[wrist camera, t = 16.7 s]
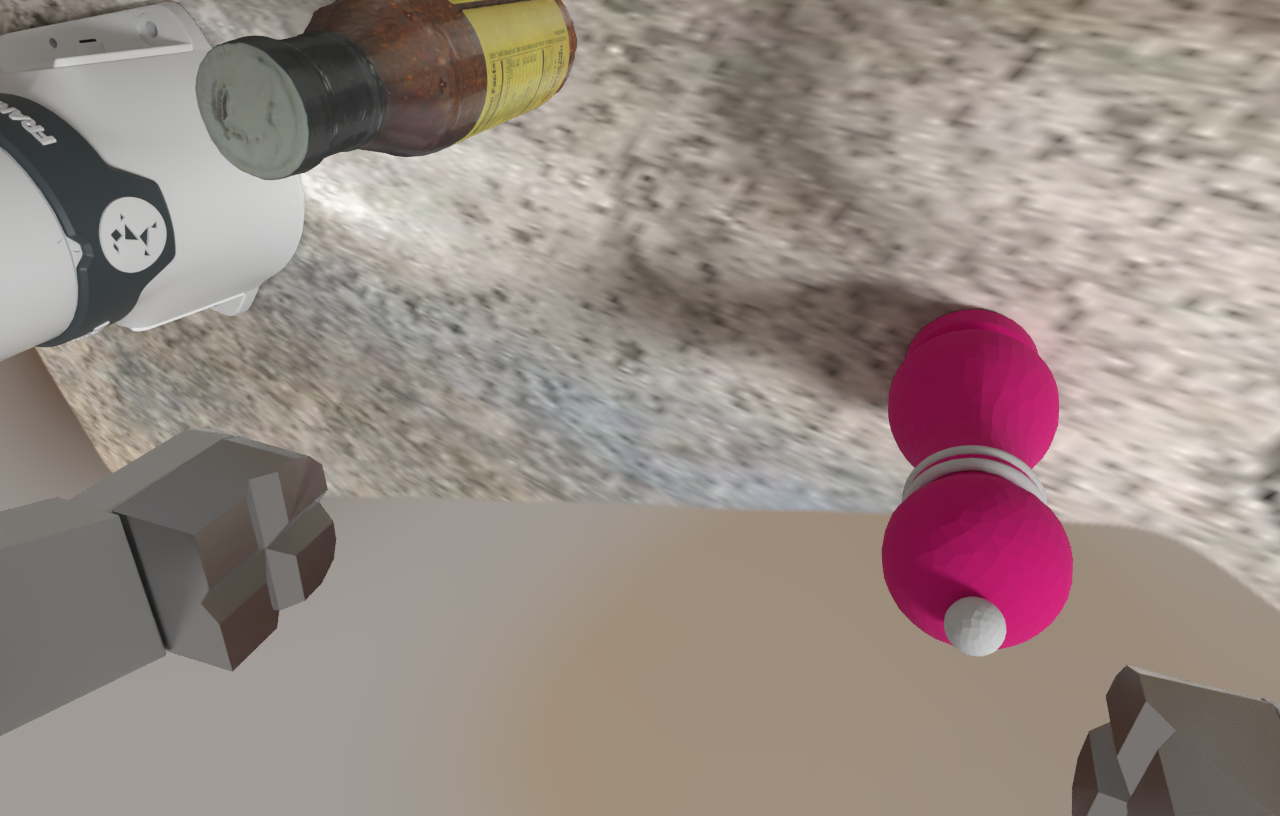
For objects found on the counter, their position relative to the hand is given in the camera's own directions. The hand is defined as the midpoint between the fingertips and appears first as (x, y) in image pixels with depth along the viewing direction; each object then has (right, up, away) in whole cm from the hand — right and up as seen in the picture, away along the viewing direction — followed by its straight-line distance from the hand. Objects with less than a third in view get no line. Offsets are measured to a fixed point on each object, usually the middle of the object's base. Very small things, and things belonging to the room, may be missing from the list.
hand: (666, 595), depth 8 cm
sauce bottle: (-6, +20, +33) cm, 39 cm away
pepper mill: (+16, +4, +33) cm, 37 cm away
